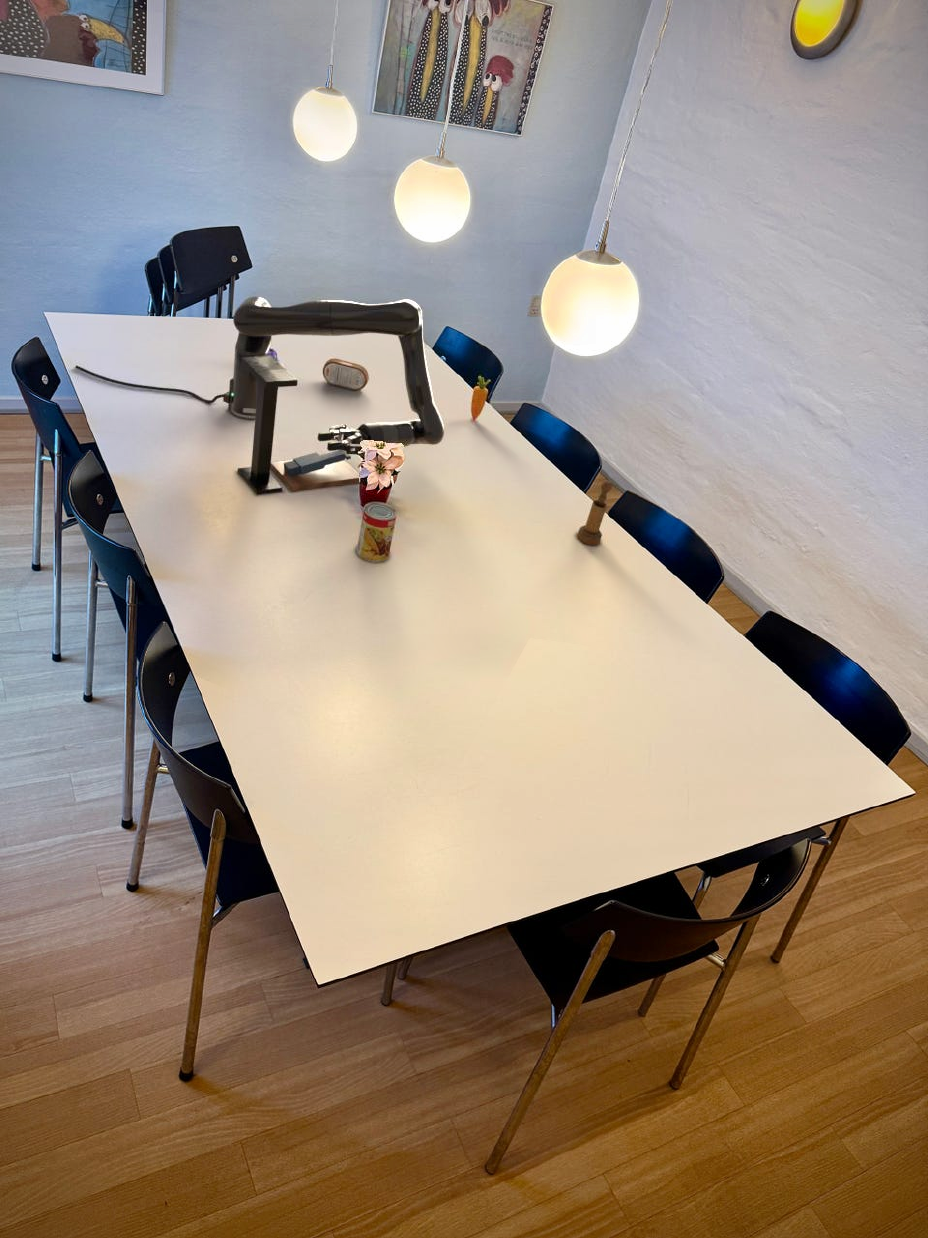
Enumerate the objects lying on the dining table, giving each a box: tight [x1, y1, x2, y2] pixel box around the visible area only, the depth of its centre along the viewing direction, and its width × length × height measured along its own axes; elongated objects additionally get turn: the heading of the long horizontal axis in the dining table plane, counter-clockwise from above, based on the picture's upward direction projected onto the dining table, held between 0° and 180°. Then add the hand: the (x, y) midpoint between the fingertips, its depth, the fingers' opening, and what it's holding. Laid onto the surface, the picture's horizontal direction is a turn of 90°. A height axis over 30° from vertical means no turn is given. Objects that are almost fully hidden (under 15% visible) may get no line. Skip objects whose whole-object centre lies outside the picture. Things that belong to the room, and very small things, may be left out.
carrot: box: [470, 375, 491, 421], centre depth 287 cm, size 5×5×15 cm
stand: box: [237, 356, 299, 496], centre depth 221 cm, size 8×14×31 cm, turn 36°
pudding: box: [268, 347, 286, 369], centre depth 289 cm, size 12×12×5 cm
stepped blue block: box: [284, 450, 352, 477], centre depth 237 cm, size 18×4×3 cm, turn 126°
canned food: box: [356, 501, 398, 563], centre depth 211 cm, size 8×8×12 cm
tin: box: [322, 358, 370, 392], centre depth 288 cm, size 15×3×8 cm, turn 84°
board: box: [270, 459, 360, 492], centre depth 239 cm, size 21×13×2 cm, turn 126°
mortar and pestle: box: [576, 480, 613, 546], centre depth 238 cm, size 7×6×18 cm
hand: (323, 442), depth 234 cm, fingers open, 5 cm apart
